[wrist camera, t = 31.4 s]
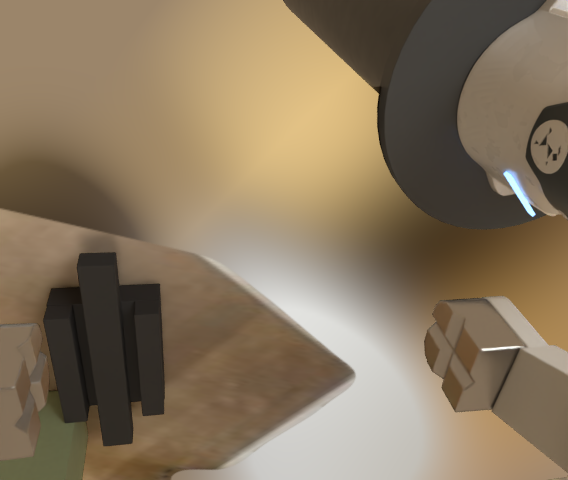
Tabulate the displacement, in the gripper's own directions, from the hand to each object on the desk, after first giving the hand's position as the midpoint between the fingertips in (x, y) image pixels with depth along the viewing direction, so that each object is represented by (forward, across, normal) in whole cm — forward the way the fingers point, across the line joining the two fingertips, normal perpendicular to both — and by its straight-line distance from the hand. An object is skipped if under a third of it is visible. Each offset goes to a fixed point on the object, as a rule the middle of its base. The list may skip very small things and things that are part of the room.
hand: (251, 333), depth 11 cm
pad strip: (+32, +8, +31) cm, 45 cm away
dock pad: (+34, +8, +32) cm, 47 cm away
